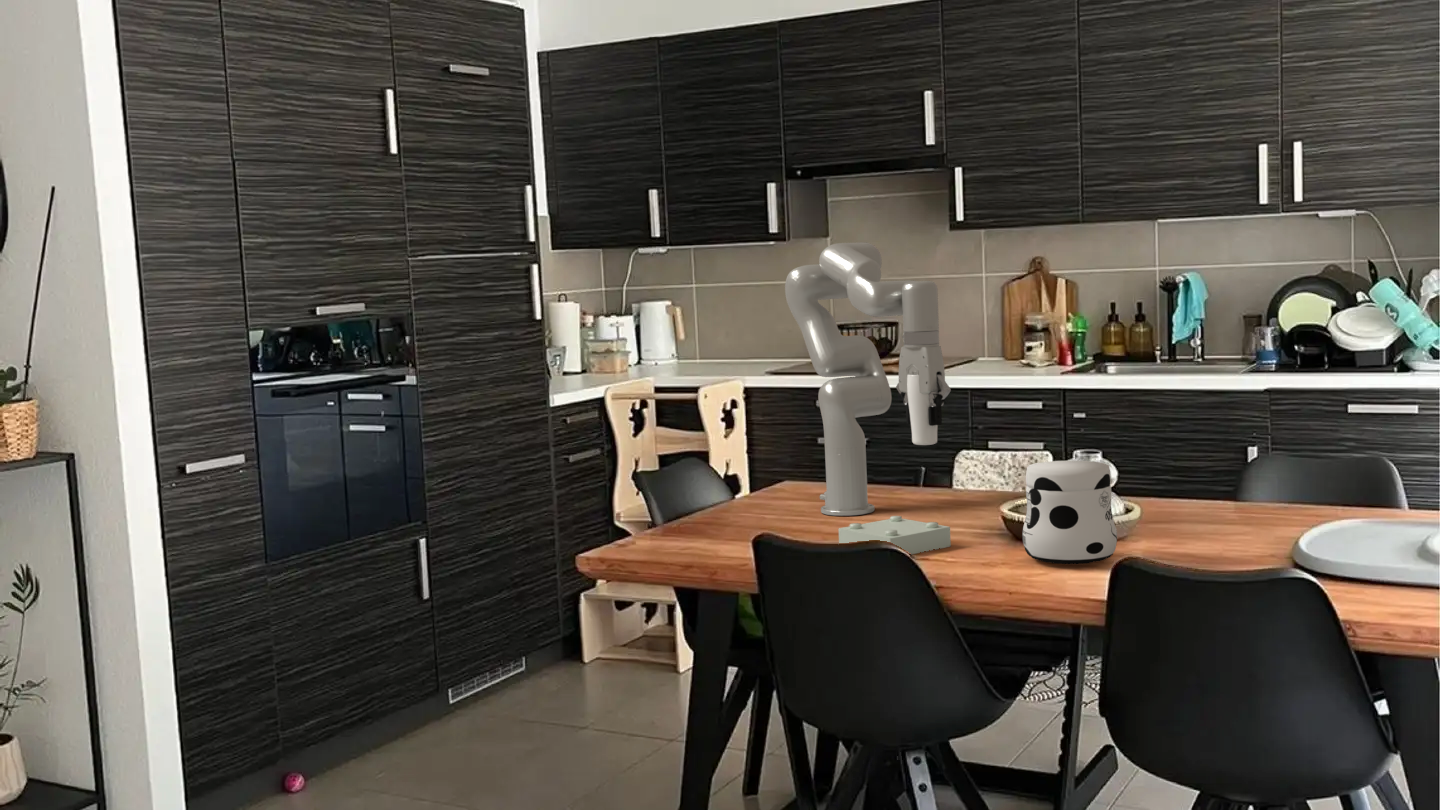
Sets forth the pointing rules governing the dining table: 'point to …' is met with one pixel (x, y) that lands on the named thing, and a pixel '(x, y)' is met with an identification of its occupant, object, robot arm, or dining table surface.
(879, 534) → the brick riser
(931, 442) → the drinking glass
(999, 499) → the dining table surface
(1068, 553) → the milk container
